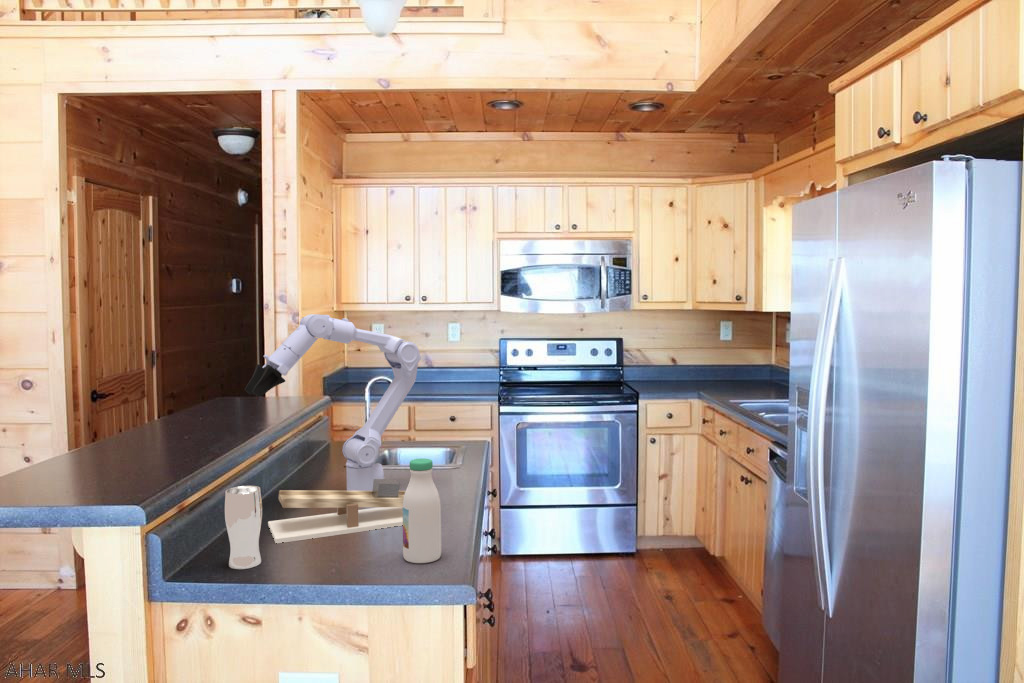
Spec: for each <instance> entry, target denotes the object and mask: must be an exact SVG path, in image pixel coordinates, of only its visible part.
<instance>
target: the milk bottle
mask: <svg viewBox="0 0 1024 683" xmlns="http://www.w3.org/2000/svg"><path fill="white" fill-rule="evenodd" d="M433 465H434V464H433V460H432V459H430V458H414V459H411V460H410V461H409V472H410V479H409V482H408V484H407V487H406V490H405V491H406V492H405V494H404V499H403V526H402V555H403V559H404V560H405V561H407V562H408V563H413V564H427V563H432V562H436V561H437V560H439V559H440V558H441V557H442V516H441V515H442V511H441V510H442V509H441V508H442V507H441V498H440V494H439V491H438V488H437V487H436V484H435V483H434V480H433V475H432V472H433V470H434V469H433Z"/></svg>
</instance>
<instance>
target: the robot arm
mask: <svg viewBox="0 0 1024 683" xmlns="http://www.w3.org/2000/svg"><path fill="white" fill-rule="evenodd" d="M318 339H323V340H328V341H333V342H337V343H341V344H349V343H351V342H353V341H358V342H361V343H365V344H369V345H373V346H377V347H378V350H379V351H380V353H381V352H383V355H384V357H385V360H386V361H387V363H388V365H389V366H390V368H391V369H392V374H393V376H394V378H393V379H392V381H391V382H390V384H389V386H388V387H387V389H386V390H385V392H384V394H383V395H382V397H381V399H379V401H378V403H377V404H376V406H375V408H374V409H373V411H372V412H371V414H370V415H369V417H368V419H367V420H366V422H365V423H364V425H363V426H362V427H361V428H359V429H358V430H356V431H355V433H354V434H353V435H352V436H351V437H350V438H348V439H347V440H346V441H345V442H344V443H343V445H342V454H343V456H344V458H345V459H346V463H345V465H346V467H345V469H346V472H345V473H346V491H373V481H374V479H385V477H384V476H385V475H384V468H383V465H382V464H381V463H379V462H377V463H375V462H376V460H377V459H378V457H379V456H378V455H379V450H380V448H381V446H382V435H383V434H384V433H385V431H386V429H387V428H388V426H389V425H390V423H391V421H392V419H393V418H394V416H395V415H396V413H397V411H398V410H399V409H400V406H401V405H402V403H403V402H404V400H405V399H406V397H407V395H408V394H409V393H410V391H411V389H412V387H413V386H414V384H415V383H416V380H417V375H418V366H419V365H418V364H419V363H420V361H421V359H422V357H421V354H420V350H419V347H418V346H417V345H416V343H414V342H412V341H406V340H405V339H403V338H400V337H398V336H395V335H392V334H387V333H381V332H376V331H371V330H365V329H362V328H361V329H360V328H357V327H356V326H355V324H354V323H353V322H351V321H349V318H346V317H345V318H342V319H339V318H334V317H331V315H329V314H316V313H314V314H313V313H312V314H311V313H310V314H307V315H305V316H304V317H303V316H302V318H301V319H300V321H299V326H298V327H297V328H296V329H295V330H293V331H292V333H291V334H290V335H289V336H288V337H287V338H286V339H285V340H284V341H283V342H282V343H281V344H280V345H279V346H278V348H277V349H275V350H274V352H272V353H271V355H270V356H269V355H268V354H264V355H263V358H264V359H265V360H266V363H265V364H264V365H263V366H261V365H260V364H259V363H257V364H256V365H255V367H254V368H255V369H254V372H253V375H252V376H251V378H250V380H249V382H248V383H247V384H246V387H245V388H244V391H245V392H246V393H248V394H249V395H250V396H252V395H255V397H257V398H261V397H262V396H264V395H265V394H266V393H268V392H269V391H271V390H272V389H273V388H275V387H277V386H279V385H281V384H284V383H285V382H286V380H285V378H284V377H285V376H287V375H288V373H289V371H290V370H291V369H292V368H294V366H295V365H296V364H297V363H298V362H299V360H300V359H301V358H302V357H303V356H304V355H305V354H306V353H307V352H308V351H309V350H310V349H311V347H313V345H314V344H315V342H317V341H318ZM282 376H284V377H282Z"/></svg>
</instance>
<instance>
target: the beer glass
mask: <svg viewBox="0 0 1024 683" xmlns="http://www.w3.org/2000/svg"><path fill="white" fill-rule="evenodd" d="M224 494H225V496H224V498H225V499H224V520H225V526H226V531H227V534H228V535H227V536H228V541H229V546H230V554H229V560H228V568H230V569H233V570H247V569H252V568H254V567H257V566H259V565H260V564H261V563H262V557H261V553H260V546H259V545H260V543H259V542H260V535H261V534H260V532H261V526H262V520H263V502H262V493H261V487H260V486H257V485H241V486H239V485H238V486H235V487H230V488H228V489H226V490H225V492H224Z"/></svg>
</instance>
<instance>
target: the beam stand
mask: <svg viewBox="0 0 1024 683" xmlns="http://www.w3.org/2000/svg"><path fill="white" fill-rule="evenodd" d="M402 525H403V507H369V508H364V509H359V507H358V504H349V505H346V507H341V508H336V512H332V513H324V514H317V515H309V516H301V517H293V518H292V517H291V518H285V519H278V520H269V521H267V526H268V528H270V529H269V532H270V533H272V534H271V536H272V538H274V539H273V541H274V543H275V544H276V543H277V544H282V542H284V543H289V542H290V543H291V542H296V541H297V542H298V541H304V540H311V539H312V538H313V539H318V538H319V539H320V538H326V537H332V536H339V535H340V536H341V535H347V534H353V533H354V534H355V533H362V532H369V530H370V531H376V530H375V529H377V530H382V529H381V528H384V529H388V528H387V527H391V528H395V527H394V526H398V527H403V526H402Z"/></svg>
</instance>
